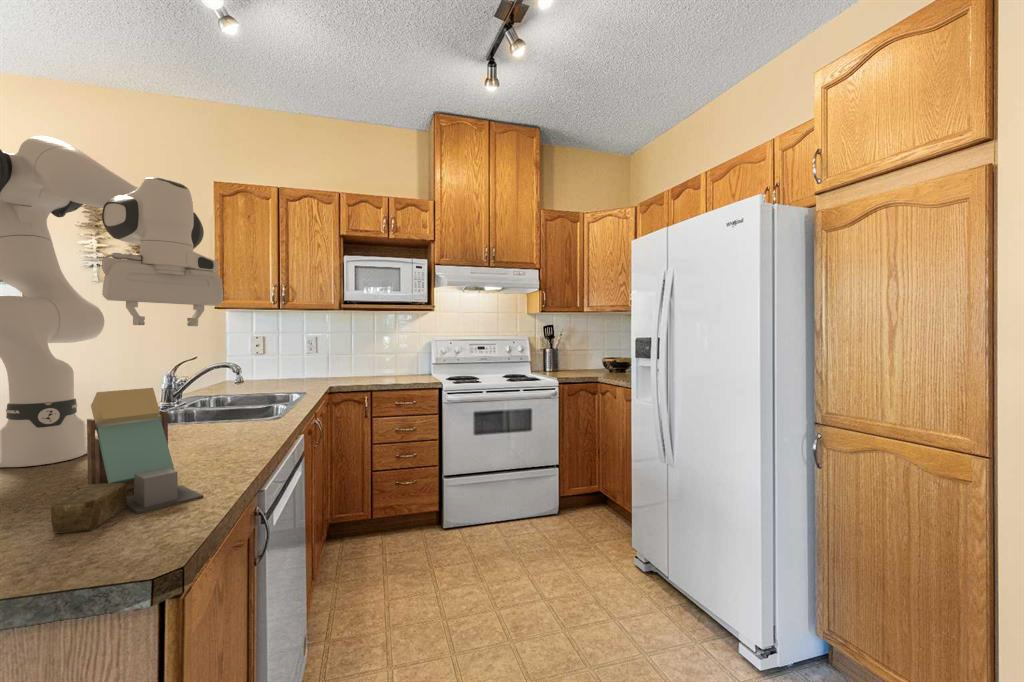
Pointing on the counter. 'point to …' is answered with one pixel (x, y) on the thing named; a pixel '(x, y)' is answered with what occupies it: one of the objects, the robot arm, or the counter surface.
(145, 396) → the trapdoor
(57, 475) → the counter surface
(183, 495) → the rubber mat
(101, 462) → the trapdoor frame
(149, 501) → the stone cube
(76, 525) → the stone block
